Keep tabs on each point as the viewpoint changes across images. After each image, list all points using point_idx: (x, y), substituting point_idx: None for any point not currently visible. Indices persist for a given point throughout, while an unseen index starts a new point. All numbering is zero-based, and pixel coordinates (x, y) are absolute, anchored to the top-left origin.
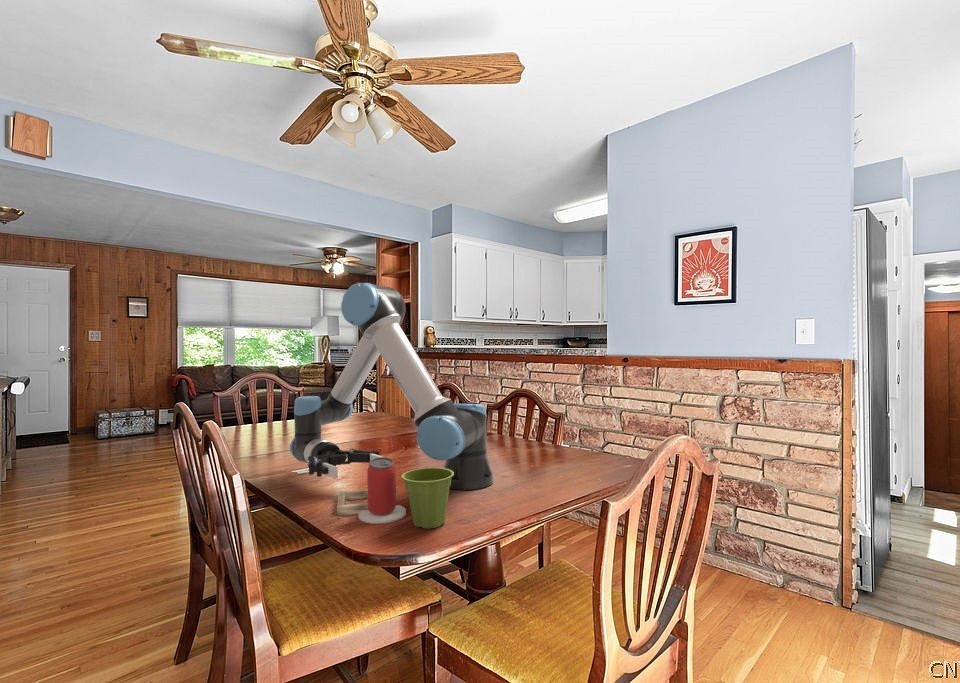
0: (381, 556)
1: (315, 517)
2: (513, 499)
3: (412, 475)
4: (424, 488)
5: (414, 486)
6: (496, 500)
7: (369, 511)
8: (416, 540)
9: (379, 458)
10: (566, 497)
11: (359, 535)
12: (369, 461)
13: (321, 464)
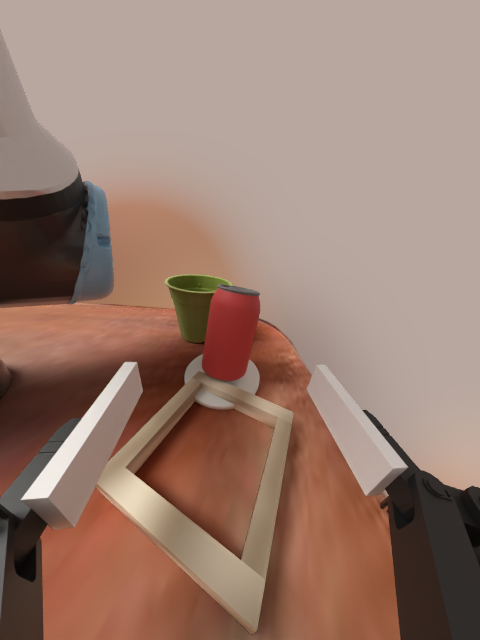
0: (268, 322)
1: (335, 447)
2: (70, 323)
3: (200, 297)
4: None
5: None
6: (81, 331)
7: (238, 385)
8: None
9: (233, 290)
10: None
11: (273, 350)
12: (38, 564)
13: (412, 479)
